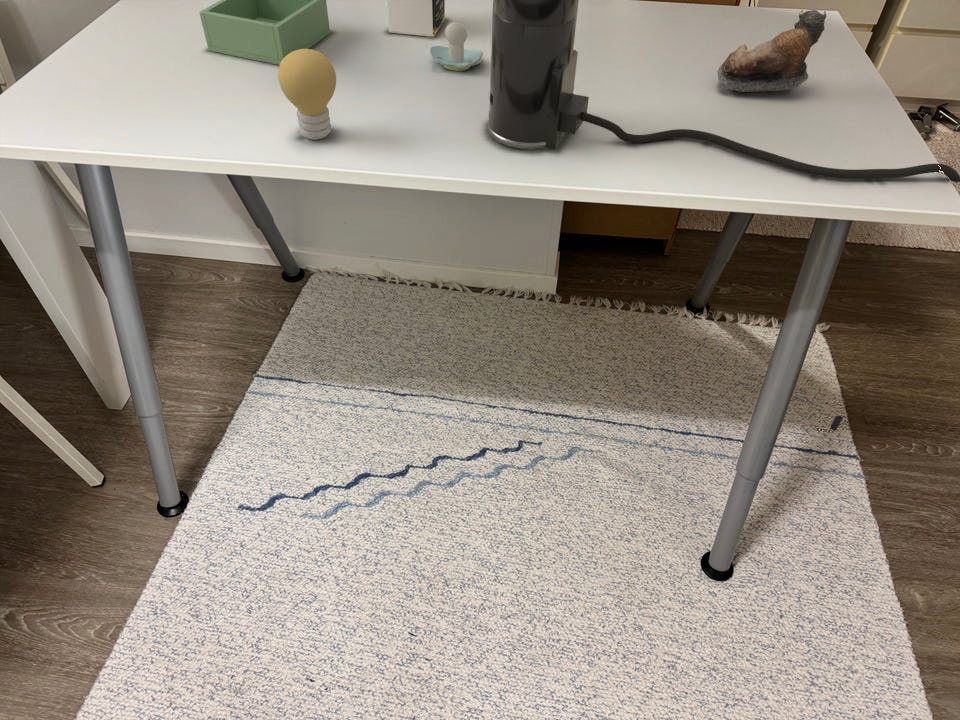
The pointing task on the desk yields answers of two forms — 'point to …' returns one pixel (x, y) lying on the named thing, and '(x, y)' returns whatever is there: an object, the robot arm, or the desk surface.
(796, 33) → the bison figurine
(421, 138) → the desk surface
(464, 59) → the pacifier
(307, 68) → the light bulb
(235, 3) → the green open-top box
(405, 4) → the white box
